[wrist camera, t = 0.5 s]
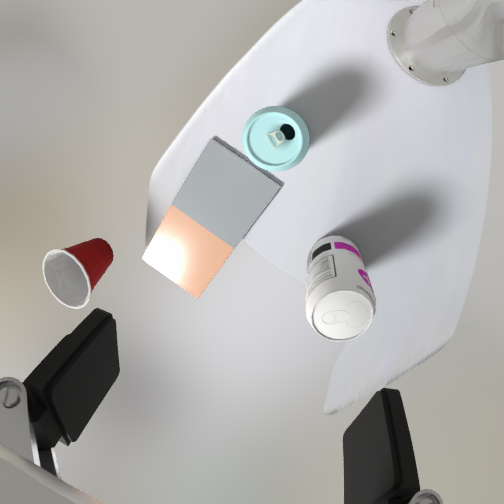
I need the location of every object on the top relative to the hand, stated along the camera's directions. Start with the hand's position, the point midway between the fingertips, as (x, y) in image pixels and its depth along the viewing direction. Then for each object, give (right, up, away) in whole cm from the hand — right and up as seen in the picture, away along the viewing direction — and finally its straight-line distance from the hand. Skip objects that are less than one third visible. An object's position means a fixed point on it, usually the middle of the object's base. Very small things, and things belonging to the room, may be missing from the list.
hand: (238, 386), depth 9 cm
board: (-7, +9, +37) cm, 39 cm away
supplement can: (+13, +4, +36) cm, 38 cm away
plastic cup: (-28, +5, +43) cm, 51 cm away
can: (+5, +20, +30) cm, 36 cm away
